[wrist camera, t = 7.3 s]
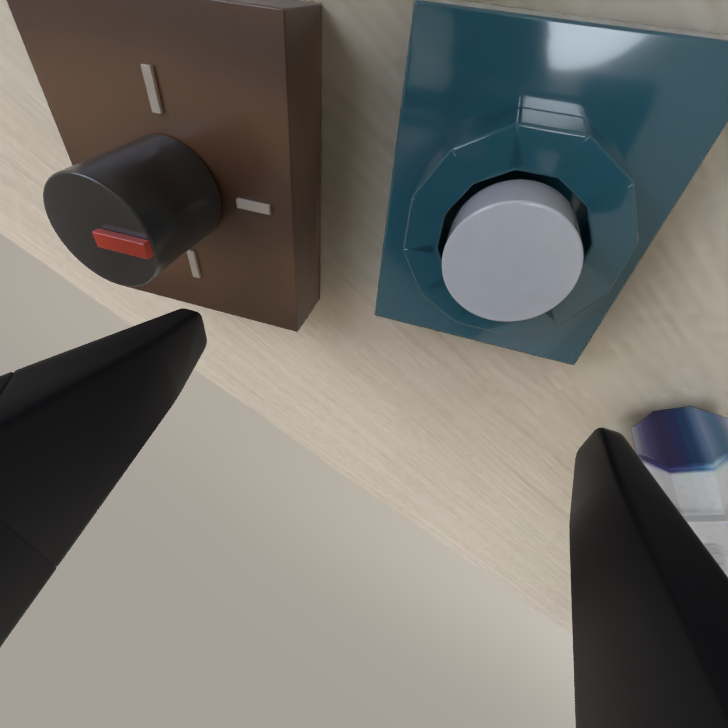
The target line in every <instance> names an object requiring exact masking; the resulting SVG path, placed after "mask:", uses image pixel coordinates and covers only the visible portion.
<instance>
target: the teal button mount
mask: <svg viewBox="0 0 728 728" xmlns="http://www.w3.org/2000/svg"><path fill="white" fill-rule="evenodd" d="M727 121H728V35H722V34H714V33H707V32H699V31H691V30H683V29H676V28H668V27H660V26H652V25H645V24H637V23H629V22H621V21H613V20H606V19H598V18H590V17H582V16H575V15H567V14H559V13H551V12H544V11H536V10H528V9H520V8H512V7H505V6H497V5H489V4H481V3H474V2H466V1H458V0H416V1H415V3H414V8H413V15H412V23H411V31H410V39H409V47H408V55H407V63H406V71H405V79H404V86H403V94H402V102H401V110H400V118H399V126H398V134H397V142H396V150H395V157H394V165H393V173H392V181H391V189H390V197H389V205H388V213H387V221H386V228H385V236H384V244H383V252H382V260H381V268H380V276H379V284H378V291H377V299H376V307H375V315H376V316H380V317H384V318H388V319H392V320H396V321H400V322H404V323H408V324H412V325H416V326H420V327H424V328H427V329H431V330H435V331H439V332H443V333H447V334H451V335H455V336H459V337H463V338H467V339H471V340H475V341H479V342H483V343H487V344H491V345H495V346H499V347H503V348H507V349H511V350H515V351H519V352H523V353H527V354H531V355H535V356H539V357H543V358H547V359H551V360H555V361H559V362H563V363H567V364H571V365H574V364H575V363H576V361H577V360H578V358H579V356H580V355H581V353H582V352H583V350H584V348H585V347H586V345H587V344H588V342H589V340H590V339H591V337H592V336H593V334H594V333H595V331H596V329H597V328H598V326H599V325H600V323H601V321H602V320H603V318H604V317H605V315H606V313H607V312H608V310H609V309H610V307H611V306H612V304H613V302H614V301H615V299H616V298H617V296H618V294H619V293H620V291H621V290H622V288H623V287H624V285H625V283H626V282H627V280H628V279H629V277H630V275H631V274H632V272H633V271H634V269H635V267H636V266H637V264H638V263H639V261H640V260H641V258H642V256H643V255H644V253H645V252H646V250H647V248H648V247H649V245H650V244H651V242H652V240H653V239H654V237H655V236H656V234H657V233H658V231H659V229H660V228H661V226H662V225H663V223H664V221H665V220H666V218H667V217H668V215H669V214H670V212H671V210H672V209H673V207H674V206H675V204H676V202H677V201H678V199H679V198H680V196H681V194H682V193H683V191H684V190H685V188H686V187H687V185H688V183H689V182H690V180H691V179H692V177H693V175H694V174H695V172H696V171H697V169H698V168H699V166H700V164H701V163H702V161H703V160H704V158H705V156H706V155H707V153H708V152H709V150H710V148H711V147H712V145H713V144H714V142H715V141H716V139H717V137H718V136H719V134H720V133H721V131H722V129H723V128H724V126H725V125H726V123H727ZM515 179H525V180H533V181H537V182H541V183H544V184H546V185H548V186H551V187H552V188H554V189H556V190H557V191H559V192H560V193H561V194H562V195H563V196H564V197H565V198H566V199H567V200H568V201H569V202H570V204H571V205H572V207H573V209H574V211H575V213H576V216H577V219H578V223H579V229H580V234H581V239H582V245H583V252H584V260H583V267H582V271H581V274H580V277H579V279H578V281H577V283H576V285H575V286H574V288H573V289H572V291H571V292H570V293H569V294H568V296H567V297H566V298H565V299H564V300H563V301H561V302H560V303H559V304H558V305H556V306H555V307H554V308H552V309H551V310H549V311H547V312H545V313H543V314H541V315H539V316H536V317H533V318H530V319H526V320H521V321H509V322H504V321H494V320H489V319H486V318H482V317H480V316H477V315H475V314H473V313H471V312H469V311H468V310H466V309H465V308H463V307H462V306H461V305H460V304H459V303H458V302H457V301H456V300H455V299H454V298H453V297H452V295H451V294H450V292H449V291H448V289H447V287H446V285H445V282H444V279H443V275H442V268H441V265H442V255H443V250H444V247H445V244H446V241H447V238H448V235H449V232H450V229H451V226H452V223H453V220H454V218H455V216H456V215H457V213H458V211H459V210H460V208H461V207H462V206H463V205H464V204H465V203H466V202H467V201H468V200H469V199H470V198H471V197H472V196H473V195H475V194H476V193H477V192H479V191H481V190H482V189H484V188H486V187H488V186H490V185H493V184H495V183H499V182H503V181H507V180H515Z"/></svg>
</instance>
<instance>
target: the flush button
mask: <svg viewBox="0 0 728 728" xmlns="http://www.w3.org/2000/svg"><path fill="white" fill-rule="evenodd" d="M583 260H584V252H583V245H582V239H581V234H580V229H579V223H578V219H577V216H576V213H575V211H574V209H573V207H572V205H571V204H570V202H569V201H568V200H567V199H566V198H565V197H564V196H563V195H562V194H561V193H560V192H559V191H557V190H556V189H554V188H552V187H551V186H548V185H546V184H544V183H541V182H537V181H533V180H525V179H515V180H507V181H503V182H499V183H495V184H493V185H490V186H488V187H486V188H484V189H482V190H481V191H479V192H477V193H476V194H475V195H473V196H472V197H471V198H470V199H469V200H468V201H467V202H466V203H465V204H464V205H463V206H462V207H461V208H460V210H459V211H458V213H457V215H456V216H455V218H454V220H453V223H452V226H451V229H450V232H449V235H448V238H447V241H446V244H445V247H444V250H443V255H442V265H441V268H442V275H443V279H444V282H445V285H446V287H447V289H448V291H449V292H450V294H451V295H452V297H453V298H454V299H455V300H456V301H457V302H458V303H459V304H460V305H461V306H462V307H463V308H465V309H466V310H468V311H469V312H471V313H473V314H475V315H477V316H480V317H482V318H486V319H489V320H494V321H504V322H509V321H521V320H526V319H530V318H533V317H536V316H539V315H541V314H543V313H545V312H547V311H549V310H551V309H552V308H554V307H555V306H556V305H558V304H559V303H560V302H561V301H563V300H564V299H565V298H566V297H567V296H568V294H569V293H570V292H571V291H572V289H573V288H574V286H575V285H576V283H577V281H578V279H579V277H580V274H581V271H582V267H583Z"/></svg>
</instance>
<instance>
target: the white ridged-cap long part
mask: <svg viewBox="0 0 728 728" xmlns="http://www.w3.org/2000/svg"><path fill="white" fill-rule="evenodd" d="M632 434H633V439H634V444H635V449H636V453H637V455H638V457H639V458H640V459H641V461H642V462H643V463H644V465H645V466H646V467H647V469H648V470H649V472H650V473H651V474H652V476H653V477H654V478H655V480H656V481H657V482H658V484H659V485H660V486H661V488H662V489H663V490H664V492H665V493H666V494H667V496H668V497H669V499H670V500H671V501H672V503H673V504H674V505H675V507H676V508H677V509H678V511H679V512H680V513H681V515H682V516H683V517H684V519H685V520H686V521H687V523H688V524H689V525H690V527H691V528H692V530H693V531H694V532H695V534H696V535H697V536H698V538H699V539H700V540H701V542H702V543H703V544H704V546H705V547H706V548H707V550H708V551H709V552H710V554H711V555H712V556H713V558H714V559H715V561H716V562H717V563H718V565H719V566H720V567H721V569H722V570H723V571H724V573H725V574H726V575H727V577H728V420H727V418H726V417H723V416H720V415H717V414H714V413H710V412H707V411H704V410H701V409H698V408H694V407H691V406H690V407H683V408H675V409H668V410H660V411H653V412H652V413H651V414H649V415H648V416H647V417H646V418H644V419H643V420H642V421H641V422H639V423H638V424H637V425H635V426H634V427H633V428H632Z"/></svg>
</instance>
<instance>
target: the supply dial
mask: <svg viewBox="0 0 728 728" xmlns="http://www.w3.org/2000/svg"><path fill="white" fill-rule="evenodd" d="M43 199H44V206H45V210H46V213H47V216H48V218H49V220H50V223H51V225H52V226H53V228H54V230H55V232H56V233H57V235H58V236H59V238H60V239H61V241H62V242H63V243H64V245H65V246H66V247H67V248H68V249H69V251H70V252H71V253H72V254H73V255H74V256H75V257H76V258H77V259H78V260H79V261H81V262H82V263H83V264H84V265H85V266H86V267H88V268H89V269H90V270H92V271H93V272H95V273H96V274H98V275H99V276H101V277H103V278H105V279H107V280H109V281H111V282H113V283H116V284H119V285H123V286H130V287H135V286H141V285H144V284H146V283H148V282H150V281H151V280H152V279H153V278H155V277H156V276H157V275H158V274H159V273H161V272H162V271H163V270H164V269H166V268H167V267H168V266H169V265H171V264H172V263H173V262H174V261H176V260H177V259H178V258H179V257H181V256H182V255H183V254H184V253H186V252H187V251H188V250H189V249H191V248H192V247H193V246H194V245H196V244H197V243H198V242H199V241H201V240H202V239H203V238H204V237H206V236H207V235H208V234H209V233H211V232H212V231H213V230H214V229H215V228H216V226H217V225H218V223H219V220H220V217H221V198H220V193H219V190H218V187H217V184H216V182H215V180H214V178H213V176H212V174H211V172H210V171H209V169H208V168H207V166H206V165H205V164H204V162H203V161H202V160H201V159H200V158H199V157H198V156H197V155H196V154H195V153H194V152H193V151H192V150H191V149H190V148H189V147H187V146H186V145H184V144H183V143H181V142H180V141H178V140H176V139H174V138H171V137H168V136H165V135H159V134H150V135H146V136H143V137H141V138H138V139H136V140H134V141H131V142H129V143H126V144H124V145H122V146H119V147H117V148H114V149H112V150H109V151H107V152H105V153H102V154H100V155H97V156H95V157H93V158H90V159H88V160H85V161H83V162H81V163H78V164H76V165H73V166H71V167H69V168H66V169H64V170H61V171H59V172H57V173H55V174H53V175H52V176H51V177H50V178H49V179H48V181H47V182H46V184H45V187H44V192H43Z"/></svg>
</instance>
